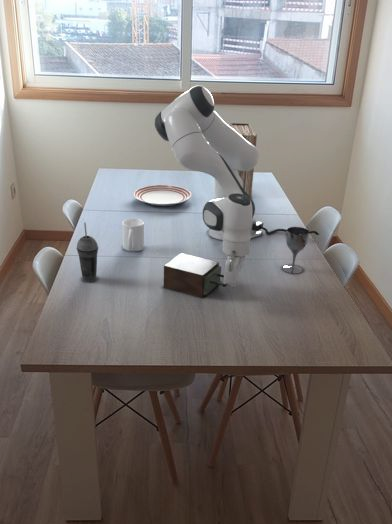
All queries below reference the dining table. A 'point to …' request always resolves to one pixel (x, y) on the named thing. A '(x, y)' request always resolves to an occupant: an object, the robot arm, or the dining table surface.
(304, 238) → the wine glass
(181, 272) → the cabinet
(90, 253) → the beverage cup
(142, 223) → the mug
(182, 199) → the dinner plate
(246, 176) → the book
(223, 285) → the drawer
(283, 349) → the dining table surface
